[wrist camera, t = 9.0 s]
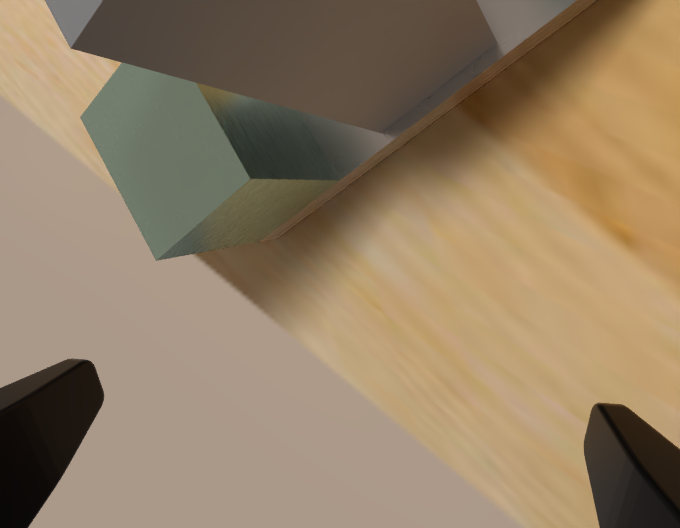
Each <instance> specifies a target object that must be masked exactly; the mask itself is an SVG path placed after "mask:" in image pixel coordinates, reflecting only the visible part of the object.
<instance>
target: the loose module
mask: <svg viewBox="0 0 680 528" xmlns="http://www.w3.org/2000/svg"><path fill="white" fill-rule="evenodd" d="M45 1H46V3H47V5H48V7H49V9H50V11H51V13H52V15H53V16H54V18H55V20H56V22H57V24H58V26H59V28H60V29H61V31H62V33H63V35H64V37H65V39H66V41H67V43H68V44H69V46H70V48H71V49H75V50H79V51H82V52H86V53H90V54H93V55H97V56H100V57H104V58H108V59H111V60H115V61H119V62H122V63H126V64H130V65H133V66H137V67H141V68H144V69H148V70H152V71H155V72H159V73H163V74H166V75H170V76H173V77H177V78H181V79H184V80H188V81H192V82H195V83H199V84H203V85H206V86H210V87H214V88H217V89H221V90H225V91H228V92H232V93H236V94H239V95H243V96H247V97H250V98H254V99H257V100H261V101H265V102H268V103H272V104H276V105H279V106H283V107H287V108H290V109H294V110H298V111H301V112H305V113H309V114H312V115H316V116H320V117H323V118H327V119H330V120H334V121H338V122H341V123H345V124H349V125H352V126H356V127H360V128H363V129H367V130H371V131H374V132H378V133H382V132H384V131H385V130H386V129H388V128H389V127H390V126H391V125H393V124H394V123H395V122H397V121H398V120H399V119H400V118H402V117H403V116H404V115H406V114H407V113H408V112H409V111H411V110H412V109H413V108H415V107H416V106H417V105H418V104H420V103H421V102H422V101H424V100H425V99H426V98H427V97H429V96H430V95H431V94H433V93H434V92H435V91H436V90H438V89H439V88H440V87H441V86H443V85H444V84H445V83H447V82H448V81H449V80H450V79H452V78H453V77H454V76H456V75H457V74H458V73H459V72H461V71H462V70H463V69H465V68H466V67H467V66H468V65H470V64H471V63H472V62H474V61H475V60H476V59H477V58H479V57H480V56H481V55H483V54H484V53H485V52H486V51H488V50H489V49H490V48H492V47H493V46H494V45H495V44H497V41H496V39H495V37H494V35H493V33H492V31H491V29H490V27H489V25H488V23H487V21H486V19H485V17H484V15H483V13H482V11H481V9H480V7H479V5H478V3H477V1H476V0H45Z"/></svg>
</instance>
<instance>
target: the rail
mask: <svg viewBox="0 0 680 528" xmlns="http://www.w3.org/2000/svg"><path fill="white" fill-rule="evenodd" d="M476 1H477V3H478V5H479V7H480V9H481V11H482V13H483V15H484V17H485V19H486V21H487V23H488V25H489V27H490V29H491V31H492V33H493V35H494V37H495V39H496V41H497V44H495V45H494V46H493V47H492V48H490V49H489V50H488V51H486V52H485V53H484V54H483V55H481V56H480V57H479V58H477V59H476V60H475V61H474V62H472V63H471V64H470V65H468V66H467V67H466V68H465V69H463V70H462V71H461V72H459V73H458V74H457V75H456V76H454V77H453V78H452V79H450V80H449V81H448V82H447V83H445V84H444V85H443V86H441V87H440V88H439V89H438V90H436V91H435V92H434V93H433V94H431V95H430V96H429V97H427V98H426V99H425V100H424V101H422V102H421V103H420V104H418V105H417V106H416V107H415V108H413V109H412V110H411V111H409V112H408V113H407V114H406V115H404V116H403V117H402V118H400V119H399V120H398V121H397V122H395V123H394V124H393V125H391V126H390V127H389V128H388V129H386V130H385V131H384V132H382V133H378V132H374V131H371V130H367V129H363V128H360V127H356V126H352V125H349V124H345V123H341V122H338V121H334V120H330V119H327V118H323V117H320V116H316V115H312V114H309V113H305V112H301V111H298V110H294V109H290V108H287V107H283V106H279V105H276V104H272V103H268V102H265V101H261V100H257V99H254V98H250V97H247V96H243V95H239V94H236V93H232V92H228V91H225V90H221V89H217V88H214V87H210V86H206V85H203V84H199V83H195V82H192V81H188V80H184V79H181V78H177V77H173V76H170V75H166V74H163V73H159V72H155V71H152V70H148V69H144V68H141V67H137V66H133V65H130V64H126V63H121V65H120V66H119V67H118V69H117V70H116V71H115V72H114V74H113V75H112V76H111V78H110V79H109V80H108V82H107V83H106V84H105V86H104V87H103V88H102V89H101V91H100V92H99V93H98V95H97V96H96V97H95V99H94V100H93V101H92V103H91V104H90V105H89V106H88V108H87V109H86V110H85V112H84V113H83V114H82V116H81V117H80V118H81V120H82V122H83V124H84V125H85V127H86V129H87V131H88V133H89V135H90V137H91V139H92V141H93V142H94V144H95V146H96V148H97V150H98V152H99V154H100V156H101V158H102V159H103V161H104V163H105V165H106V167H107V169H108V171H109V173H110V175H111V176H112V178H113V180H114V182H115V184H116V186H117V188H118V190H119V192H120V193H121V195H122V197H123V199H124V201H125V203H126V205H127V206H128V209H129V210H130V212H131V214H132V216H133V218H134V220H135V222H136V224H137V225H138V227H139V229H140V231H141V233H142V235H143V237H144V239H145V241H146V242H147V244H148V246H149V248H150V250H151V252H152V254H153V256H154V258H155V259H156V261H157V260H162V259H167V258H172V257H178V256H184V255H189V254H195V253H200V252H206V251H211V250H216V249H222V248H227V247H233V246H238V245H244V244H249V243H254V242H260V241H265V240H271V239H276V238H279V237H280V236H282V235H283V234H284V233H286V232H287V231H288V230H290V229H291V228H292V227H294V226H295V225H296V224H298V223H299V222H300V221H302V220H303V219H304V218H306V217H307V216H308V215H310V214H311V213H312V212H314V211H315V210H316V209H318V208H319V207H321V206H322V205H323V204H325V203H326V202H327V201H329V200H330V199H331V198H333V197H334V196H335V195H337V194H338V193H339V192H341V191H342V190H343V189H345V188H346V187H347V186H349V185H350V184H351V183H353V182H354V181H355V180H357V179H358V178H359V177H361V176H362V175H363V174H365V173H366V172H367V171H369V170H370V169H372V168H373V167H374V166H376V165H377V164H378V163H380V162H381V161H382V160H384V159H385V158H386V157H388V156H389V155H390V154H392V153H393V152H394V151H396V150H397V149H398V148H400V147H401V146H402V145H404V144H405V143H406V142H408V141H409V140H410V139H412V138H413V137H414V136H416V135H417V134H419V133H420V132H421V131H423V130H424V129H425V128H427V127H428V126H429V125H431V124H432V123H433V122H435V121H436V120H437V119H439V118H440V117H441V116H443V115H444V114H445V113H447V112H448V111H449V110H451V109H452V108H453V107H455V106H456V105H457V104H459V103H460V102H461V101H463V100H464V99H465V98H467V97H468V96H470V95H471V94H472V93H474V92H475V91H476V90H478V89H479V88H480V87H482V86H483V85H484V84H486V83H487V82H488V81H490V80H491V79H492V78H494V77H495V76H496V75H498V74H499V73H500V72H502V71H503V70H504V69H506V68H507V67H508V66H510V65H511V64H512V63H514V62H515V61H517V60H518V59H519V58H521V57H522V56H523V55H525V54H526V53H527V52H529V51H530V50H531V49H533V48H534V47H535V46H537V45H538V44H539V43H541V42H542V41H543V40H545V39H546V38H547V37H549V36H550V35H551V34H553V33H554V32H555V31H557V30H558V29H559V28H561V27H562V26H563V25H565V24H566V23H568V22H569V21H570V20H572V19H573V18H574V17H576V16H577V15H578V14H580V13H581V12H582V11H584V10H585V9H586V8H588V7H589V6H590V5H592V4H593V3H594V2H596V1H597V0H476Z"/></svg>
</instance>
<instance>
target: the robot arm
mask: <svg viewBox="0 0 680 528" xmlns="http://www.w3.org/2000/svg"><path fill="white" fill-rule="evenodd" d="M103 401H104V392H103V389H102V386H101V383H100V380H99V377H98V374H97V371H96V369H95V366H94V364H93V363H92V362H91V361H89V360H84V359H67V360H65V361H62V362H60V363H58V364H55V365H53V366H51V367H48V368H46V369H44V370H41V371H39V372H37V373H35V374H32V375H30V376H27V377H25V378H23V379H20V380H18V381H16V382H14V383H11V384H9V385H6V386H4V387H2V388H0V528H28V527H29V525H30V524H31V522H32V521H33V519H34V518H35V517H36V515H37V514H38V512H39V511H40V509H41V508H42V506H43V504H44V503H45V502H46V500H47V499H48V497H49V496H50V494H51V492H52V491H53V490H54V488H55V487H56V485H57V483H58V482H59V480H60V479H61V477H62V476H63V474H64V472H65V470H66V469H67V467H68V465H69V464H70V462H71V460H72V458H73V456H74V455H75V453H76V451H77V449H78V448H79V446H80V444H81V442H82V440H83V439H84V437H85V435H86V433H87V431H88V430H89V428H90V426H91V424H92V422H93V421H94V419H95V417H96V415H97V413H98V411H99V410H100V408H101V406H102V403H103ZM584 455H585V460H586V465H587V470H588V474H589V479H590V484H591V488H592V493H593V498H594V503H595V507H596V512H597V517H598V521H599V526H600V528H680V449H679V448H678V447H676V446H675V445H674V444H673V443H671V442H670V441H669V440H668V439H666V438H665V437H664V436H663V435H661V434H660V433H659V432H658V431H656V430H655V429H654V428H653V427H651V426H650V425H649V424H648V423H646V422H645V421H644V420H643V419H642V418H640V417H639V416H638V415H637V414H635V413H634V412H633V411H632V410H630V409H629V408H628V407H626V406H624V405H621V404H610V403H597V404H595V405H594V406H593V408H592V410H591V414H590V418H589V423H588V427H587V431H586V435H585V439H584Z"/></svg>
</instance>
